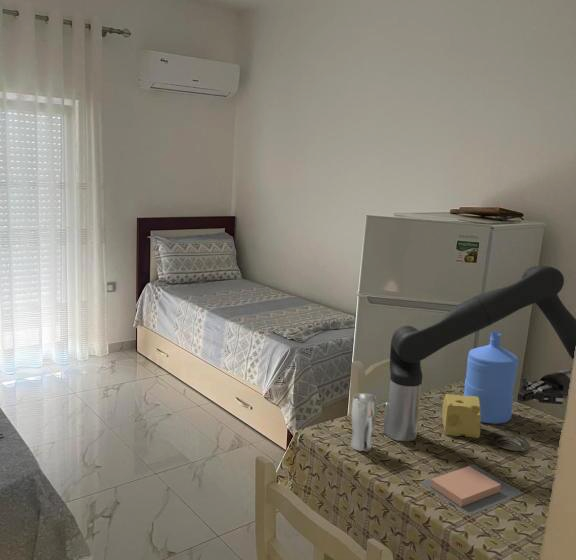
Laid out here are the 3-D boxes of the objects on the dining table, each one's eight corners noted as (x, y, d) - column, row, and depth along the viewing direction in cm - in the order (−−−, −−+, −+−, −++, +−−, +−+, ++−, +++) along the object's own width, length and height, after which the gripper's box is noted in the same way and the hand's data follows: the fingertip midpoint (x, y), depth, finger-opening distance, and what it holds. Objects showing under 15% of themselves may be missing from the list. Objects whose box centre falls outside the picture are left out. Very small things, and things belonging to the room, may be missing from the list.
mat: (419, 484, 146) (419, 482, 146) (472, 466, 156) (472, 464, 156) (468, 517, 133) (469, 515, 132) (523, 495, 143) (523, 493, 143)
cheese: (479, 440, 172) (483, 409, 170) (442, 435, 174) (445, 404, 172) (475, 425, 182) (479, 396, 180) (440, 421, 184) (443, 391, 182)
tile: (468, 473, 151) (430, 487, 144) (469, 466, 151) (430, 479, 143) (499, 492, 143) (461, 507, 135) (500, 484, 142) (462, 499, 135)
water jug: (492, 429, 180) (503, 343, 175) (451, 410, 193) (460, 330, 187) (520, 418, 189) (531, 337, 184) (480, 401, 202) (489, 325, 196)
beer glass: (343, 446, 164) (347, 396, 161) (358, 438, 169) (361, 390, 166) (363, 455, 159) (367, 404, 157) (377, 447, 164) (382, 398, 162)
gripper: (541, 364, 162) (501, 374, 153) (586, 381, 151) (545, 393, 142) (538, 389, 164) (497, 400, 155) (581, 407, 153) (541, 421, 144)
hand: (520, 397), depth 149 cm, fingers closed
